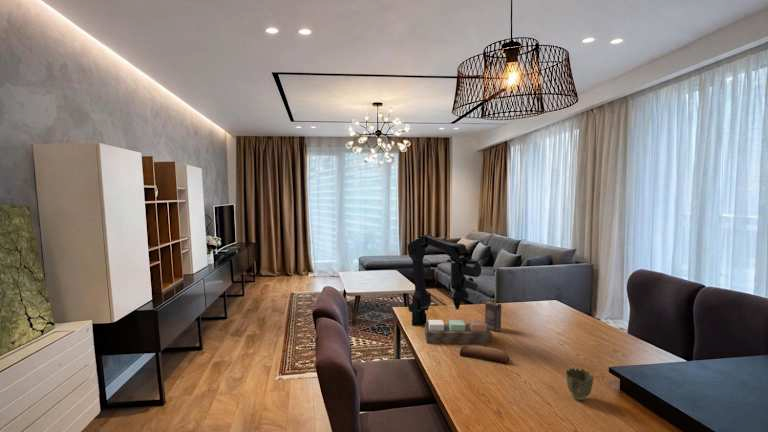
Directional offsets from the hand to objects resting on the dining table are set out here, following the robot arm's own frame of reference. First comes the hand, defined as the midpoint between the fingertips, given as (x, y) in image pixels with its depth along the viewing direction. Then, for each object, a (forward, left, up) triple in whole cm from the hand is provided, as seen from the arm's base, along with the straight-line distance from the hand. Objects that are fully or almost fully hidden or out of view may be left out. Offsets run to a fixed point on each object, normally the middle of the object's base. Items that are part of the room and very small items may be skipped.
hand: (457, 309), depth 158 cm
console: (0, 0, -13) cm, 13 cm away
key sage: (0, 0, -10) cm, 10 cm away
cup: (+29, -46, -13) cm, 56 cm away
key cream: (-9, 0, -10) cm, 14 cm away
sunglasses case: (+8, -17, -14) cm, 23 cm away
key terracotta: (+9, 0, -10) cm, 14 cm away
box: (+18, +12, -13) cm, 26 cm away
